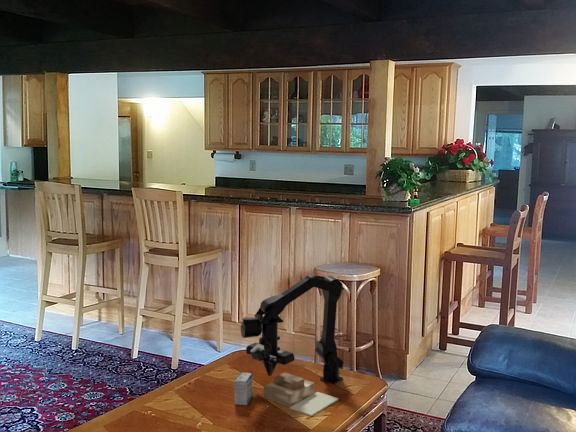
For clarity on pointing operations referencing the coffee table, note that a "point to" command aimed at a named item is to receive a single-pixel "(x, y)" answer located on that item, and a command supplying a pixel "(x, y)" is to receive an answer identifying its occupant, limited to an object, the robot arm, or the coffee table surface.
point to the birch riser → (288, 393)
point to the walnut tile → (289, 381)
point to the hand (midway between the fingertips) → (269, 375)
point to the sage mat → (314, 403)
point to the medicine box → (243, 388)
